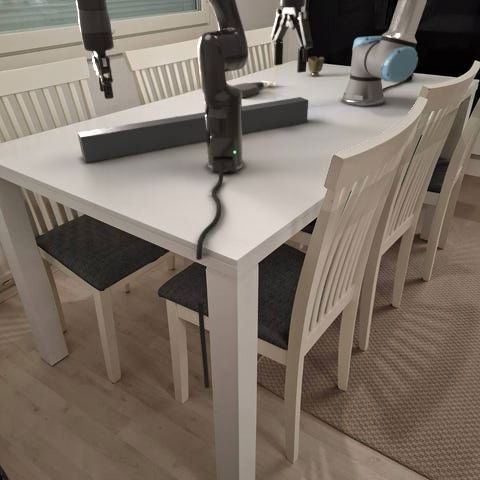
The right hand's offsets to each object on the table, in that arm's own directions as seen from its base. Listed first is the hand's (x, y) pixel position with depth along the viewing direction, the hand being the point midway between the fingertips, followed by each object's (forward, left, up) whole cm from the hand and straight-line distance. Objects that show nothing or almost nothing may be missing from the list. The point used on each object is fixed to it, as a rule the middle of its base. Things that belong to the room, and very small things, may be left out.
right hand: (289, 68), depth 141 cm
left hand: (+56, -13, -1) cm, 58 cm away
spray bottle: (-19, -41, -18) cm, 49 cm away
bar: (+30, -6, -18) cm, 35 cm away
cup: (-60, -43, -18) cm, 76 cm away
